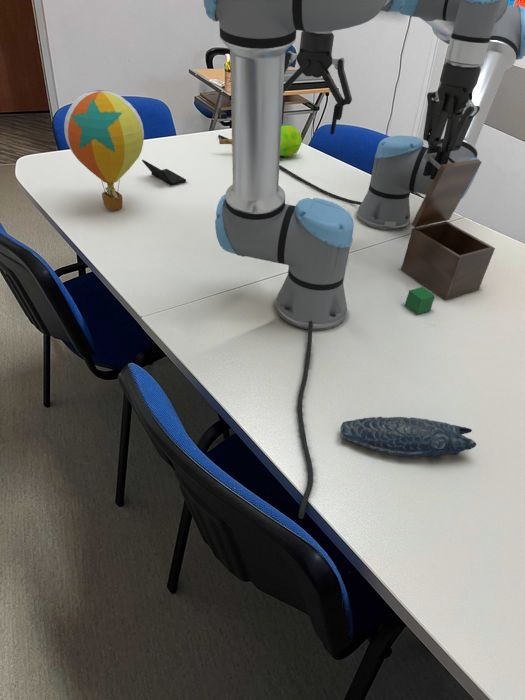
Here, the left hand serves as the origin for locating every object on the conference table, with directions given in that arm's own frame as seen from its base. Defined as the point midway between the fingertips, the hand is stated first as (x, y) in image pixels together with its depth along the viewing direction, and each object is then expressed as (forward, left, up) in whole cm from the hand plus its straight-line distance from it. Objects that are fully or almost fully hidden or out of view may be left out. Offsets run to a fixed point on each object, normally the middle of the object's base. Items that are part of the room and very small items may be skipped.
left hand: (306, 128), depth 131 cm
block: (-36, -32, -26) cm, 54 cm away
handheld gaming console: (+18, +43, -26) cm, 54 cm away
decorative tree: (+52, +18, -26) cm, 61 cm away
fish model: (-78, -26, -26) cm, 86 cm away
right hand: (-12, -31, -4) cm, 34 cm away
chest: (-21, -38, -26) cm, 50 cm away
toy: (-7, +51, -26) cm, 57 cm away
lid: (-17, -35, -6) cm, 39 cm away
